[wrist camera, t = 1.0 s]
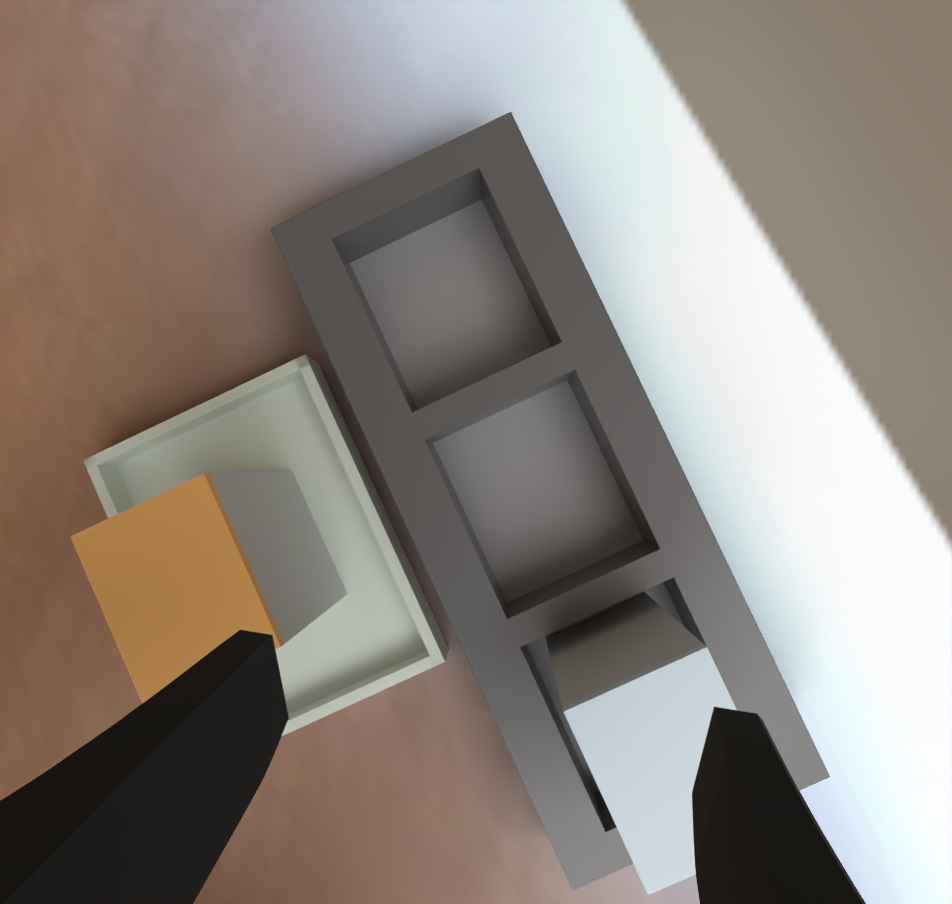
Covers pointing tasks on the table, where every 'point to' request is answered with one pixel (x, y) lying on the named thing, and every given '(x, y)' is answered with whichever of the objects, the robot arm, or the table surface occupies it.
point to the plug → (207, 570)
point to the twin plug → (641, 725)
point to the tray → (335, 513)
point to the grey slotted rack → (520, 451)
